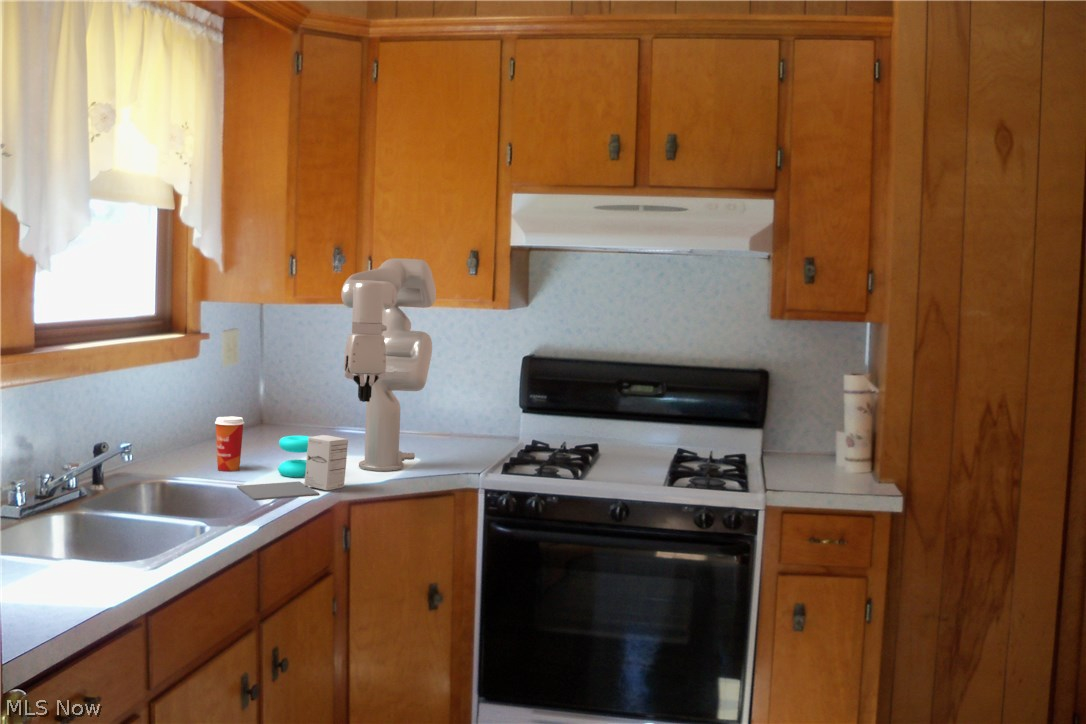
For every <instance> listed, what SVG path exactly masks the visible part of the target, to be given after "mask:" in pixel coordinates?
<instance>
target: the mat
mask: <svg viewBox="0 0 1086 724" xmlns="http://www.w3.org/2000/svg"><path fill="white" fill-rule="evenodd" d="M236 489H238V490H240V491H241V492H242V493H244V494H245V495H246V496H248V497H249V498H251V499H252V500H253V501H260V500H272V499H274V500H275V499H286V498H296V497H299V498H300V497H308V496H309V497H313V496H320V492H318V491H316V490H314V489H313V488H312V487H310V486H305V483H303V482H301V481H286V482H273V483H272V482H271V483H257V484H245V485H244V484H243V485H237V486H236Z"/></svg>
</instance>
